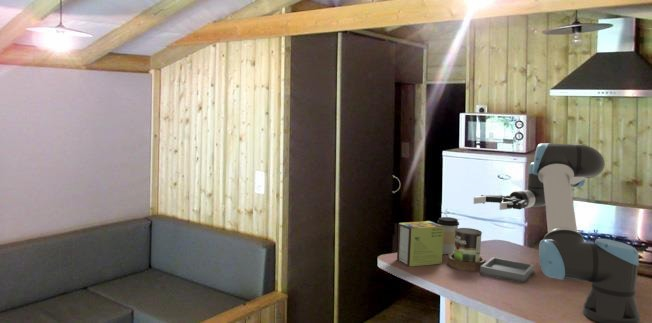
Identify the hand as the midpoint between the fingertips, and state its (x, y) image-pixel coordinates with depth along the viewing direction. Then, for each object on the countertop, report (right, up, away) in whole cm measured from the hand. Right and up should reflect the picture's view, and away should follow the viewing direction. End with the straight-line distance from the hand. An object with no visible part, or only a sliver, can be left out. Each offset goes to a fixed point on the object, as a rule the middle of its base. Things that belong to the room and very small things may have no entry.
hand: (486, 203), depth 206 cm
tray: (+4, -26, -12) cm, 29 cm away
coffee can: (-9, -25, -3) cm, 27 cm away
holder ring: (-9, -25, -3) cm, 26 cm away
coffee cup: (-13, -23, +15) cm, 30 cm away
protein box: (-28, -24, 0) cm, 37 cm away
